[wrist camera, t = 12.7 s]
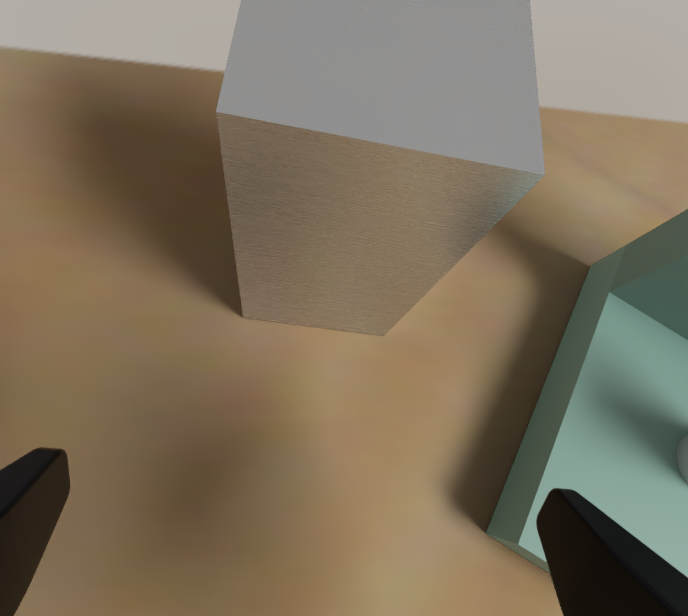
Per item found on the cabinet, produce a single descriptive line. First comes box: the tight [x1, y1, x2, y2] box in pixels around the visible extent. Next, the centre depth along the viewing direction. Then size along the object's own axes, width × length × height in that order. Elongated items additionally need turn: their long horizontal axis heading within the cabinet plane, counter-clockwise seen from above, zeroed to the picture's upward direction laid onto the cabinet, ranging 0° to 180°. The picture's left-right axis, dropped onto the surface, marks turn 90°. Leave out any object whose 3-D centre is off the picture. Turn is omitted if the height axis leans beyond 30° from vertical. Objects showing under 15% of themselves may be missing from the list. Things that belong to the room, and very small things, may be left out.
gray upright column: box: [216, 0, 545, 336], centre depth 12 cm, size 5×5×10 cm
